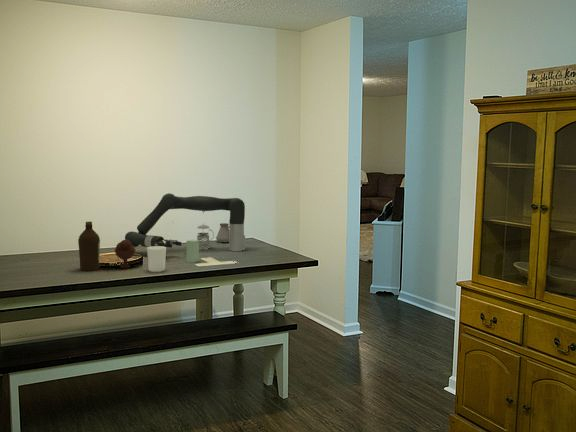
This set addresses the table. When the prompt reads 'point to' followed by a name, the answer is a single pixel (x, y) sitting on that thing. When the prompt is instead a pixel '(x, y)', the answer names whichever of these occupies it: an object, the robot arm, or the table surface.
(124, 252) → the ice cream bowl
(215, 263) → the T mat
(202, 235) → the french press
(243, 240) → the robot arm
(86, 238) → the olive oil
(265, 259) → the table surface
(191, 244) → the green block
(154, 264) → the candle holder
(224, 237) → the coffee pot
